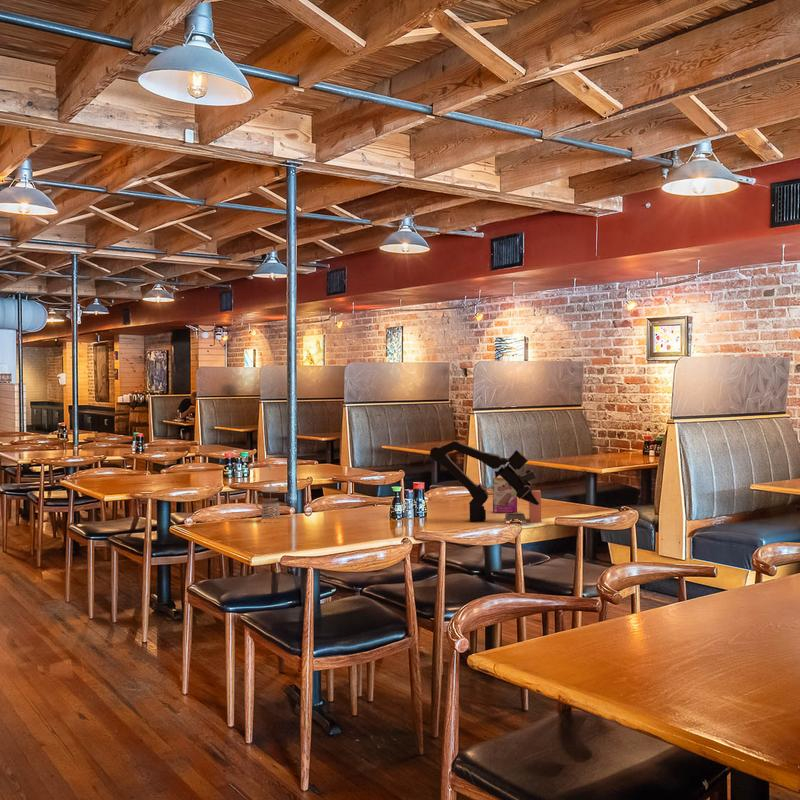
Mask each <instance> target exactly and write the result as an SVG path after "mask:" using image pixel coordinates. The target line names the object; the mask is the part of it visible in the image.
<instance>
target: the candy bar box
mask: <svg viewBox="0 0 800 800" xmlns="http://www.w3.org/2000/svg"><path fill="white" fill-rule="evenodd" d="M513 512H517V513H518V497H517V493H516V492H515V490H514V489H513V488H512V487H511V486H509V484H508V483H507V482H506V481H505V480H504V479H503V478H502V477H501V476H500V475H499V476H498V477H497V478H495V475H494V476H492V513H493V514H507V513H513Z"/></svg>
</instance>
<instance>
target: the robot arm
mask: <svg viewBox="0 0 800 800" xmlns="http://www.w3.org/2000/svg"><path fill="white" fill-rule="evenodd" d="M454 451H456V452H458V453H461V454H463V455H466V456H468V457H471V458H473V459H476V460H478V461H479V462H480V461H481V463H483V464H484V465H486V466H487V467H489V468H491V469H493V470H495V471H494V474H495V475H494V476H495V478H497V477H498V476H501V477H502V478H503V479H504V480H505V481H506V482H507V483H508V484H509V486H511V487H512V488H513V489H514V490H515V492H516V493H517V499H519V500H522V501H526V502H528V503H529V502H531V503H533V504H535V505H538V504H539V503H538V501H537V500H536V498H535V497H534V496H533V494H532V490H533V486H532V482H530V481H532V480H535V479H537V475H536V473H535V471H534V470H530V469H528V470H526V471H525V474H523V475H521V474H519V473H517V472H516V471H517V470H521V469H522V468H523V467H524V466H525V465H526V463H528V462H529V459H528V458H527V457H526V456H525V455H524V454H523V453H521V452H520V451H518V450H517V449H516V450H515V451H514V452H513V453H512V454H511V456H510V457H509V458H507V457H502V456H501V455H499V454H496V453H491V452H485V451H481V450H479V449H477V448H475V447H472V446H470V445H467V444H464V443H462V442H460V441H459V440H453V441H451V442H450V443H447V444H445V445H443V446H440V445H439V446H438V445H436V446H435V447H432V448H431V450H430V451H429V457H430V458H431V459H432V460H433V461H434V462H436V463H437V464H439V465H441V466H443V467H444V468H445V469H446V470H447V471H448V472H449V473H450V474H451V475H452V476H453V477H454V478H455V479H456V480H457V481H458V482H459V483H460V484H461V485H463V487H465V489H467V491H468V493H469V494H470V496H471V498H472V499H471V500H470V501H469V502H468V505H469V507H468V509H469V513H468V514H469V519H468V520H469V522H470V523H473V522H475V523H478V522H479V523H481V522H482V523H483V522H486V520H487V515H486V514H487V513H486V509H485V505H484V504H485V503H486V502H487V500H488V499H489V492H488V491H487V490H488V488H486V487H484V485H483V484H482V483H481V482H479V483H478V484H477V483H476V482H474V481H473V480H472V479H471V478H470V477H469V476H468V475H467V474H466V473H465V472H464V471H463V470H462V469H461V468H460V467H459V466H458V465H457V464H455V463H454V461H452V459H451V457H450V456H449V455H448V454H449V453H452V452H454ZM507 463H508V464H507ZM496 469H498V470H496Z"/></svg>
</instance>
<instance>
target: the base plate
mask: <svg viewBox="0 0 800 800" xmlns="http://www.w3.org/2000/svg"><path fill="white" fill-rule="evenodd" d="M504 514H505V515H504V516H505V517H504V522H505V521H510V520H511V519H518V520H520V521H522V523H521V524H527V520H526V515H525V514H524V513H521V512H519V513H518V512H517V513H504Z"/></svg>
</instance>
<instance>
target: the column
mask: <svg viewBox="0 0 800 800" xmlns="http://www.w3.org/2000/svg"><path fill="white" fill-rule="evenodd" d="M541 493H542V492H541V489H538V490H537V489H532V494H533V496H534V497H535V498H536V500H537V501H538V503H539V504H538V505H535V504H533V503H531V502H528V506H529V507H528V515H529V517H528V518H529V519H528V520H529V522H530V523H542V494H541Z"/></svg>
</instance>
